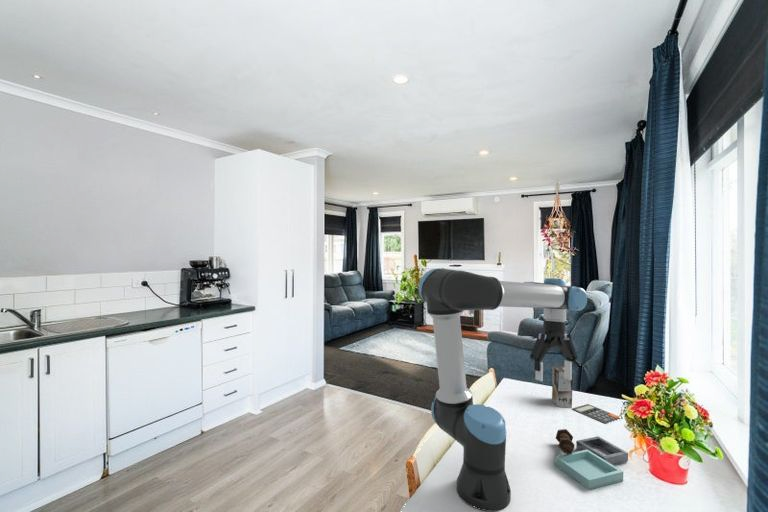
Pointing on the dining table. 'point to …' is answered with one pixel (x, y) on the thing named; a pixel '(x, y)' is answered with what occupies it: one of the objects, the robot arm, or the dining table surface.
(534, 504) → the dining table surface
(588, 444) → the square frame
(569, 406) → the coffee box
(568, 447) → the bolt
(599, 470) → the tray
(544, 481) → the dining table surface
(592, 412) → the calculator
